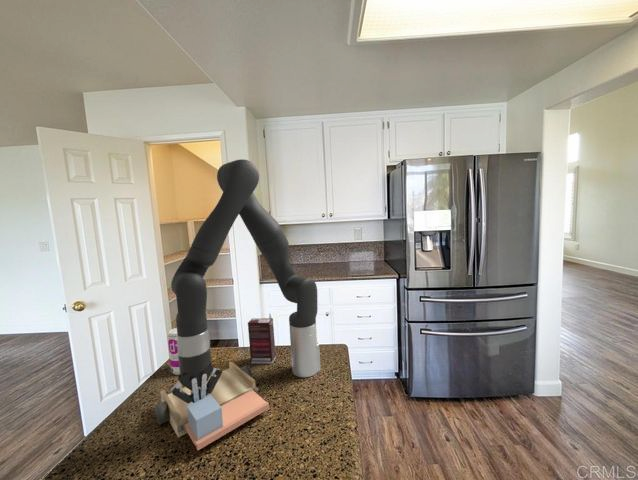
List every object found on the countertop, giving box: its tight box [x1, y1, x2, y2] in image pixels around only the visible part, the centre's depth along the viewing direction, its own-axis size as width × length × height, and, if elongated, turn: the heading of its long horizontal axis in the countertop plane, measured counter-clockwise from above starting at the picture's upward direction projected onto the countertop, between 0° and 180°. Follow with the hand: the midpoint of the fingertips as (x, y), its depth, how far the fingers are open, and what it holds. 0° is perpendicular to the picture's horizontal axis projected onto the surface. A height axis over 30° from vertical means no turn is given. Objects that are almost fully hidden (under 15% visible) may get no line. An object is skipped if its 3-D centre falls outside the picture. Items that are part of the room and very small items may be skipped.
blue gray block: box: [187, 395, 223, 441], centre depth 68 cm, size 6×7×5 cm
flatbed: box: [154, 361, 259, 438], centre depth 81 cm, size 27×18×5 cm, turn 133°
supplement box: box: [247, 317, 277, 365], centre depth 104 cm, size 9×5×16 cm, turn 82°
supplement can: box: [167, 327, 180, 376], centre depth 100 cm, size 8×8×15 cm
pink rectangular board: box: [185, 390, 270, 451], centre depth 72 cm, size 19×1×9 cm
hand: (200, 412), depth 72 cm, fingers closed
